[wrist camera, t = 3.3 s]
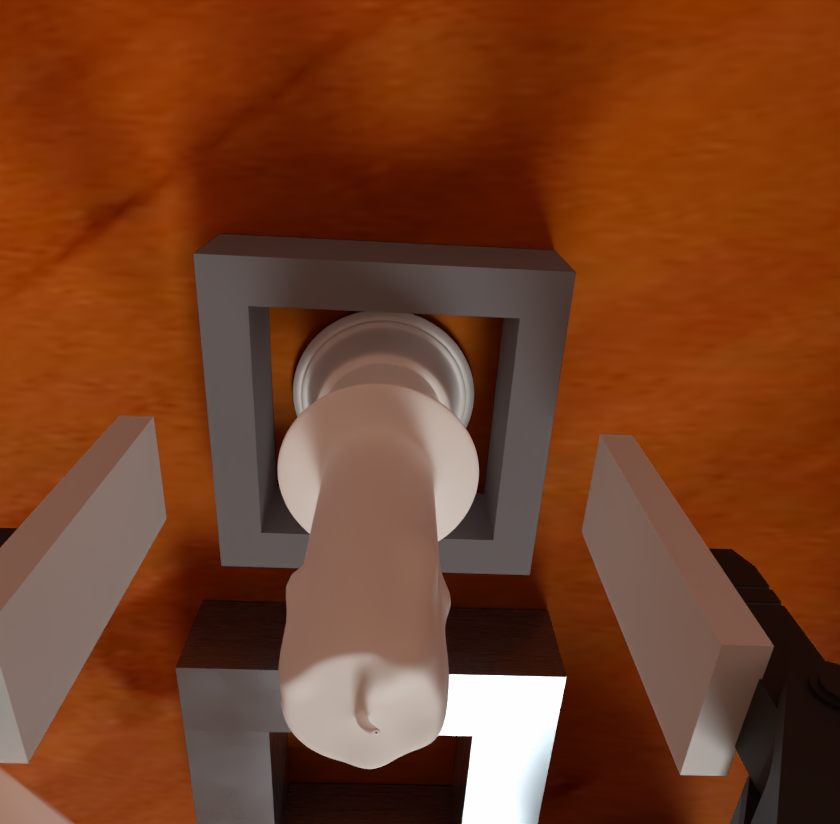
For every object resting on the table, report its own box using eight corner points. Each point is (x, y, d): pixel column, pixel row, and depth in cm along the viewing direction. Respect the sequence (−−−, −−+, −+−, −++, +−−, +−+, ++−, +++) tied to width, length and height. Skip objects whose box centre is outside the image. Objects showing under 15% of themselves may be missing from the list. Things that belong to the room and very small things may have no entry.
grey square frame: (554, 250, 18) (575, 272, 16) (516, 526, 22) (529, 575, 20) (220, 233, 18) (193, 253, 16) (240, 516, 22) (220, 565, 19)
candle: (364, 269, 18) (305, 518, 8) (510, 380, 20) (637, 721, 9) (259, 408, 20) (86, 775, 9) (400, 501, 22) (394, 911, 11)
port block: (547, 610, 24) (569, 687, 21) (510, 828, 29) (523, 917, 26) (202, 600, 23) (171, 678, 20) (226, 825, 28) (204, 914, 25)
